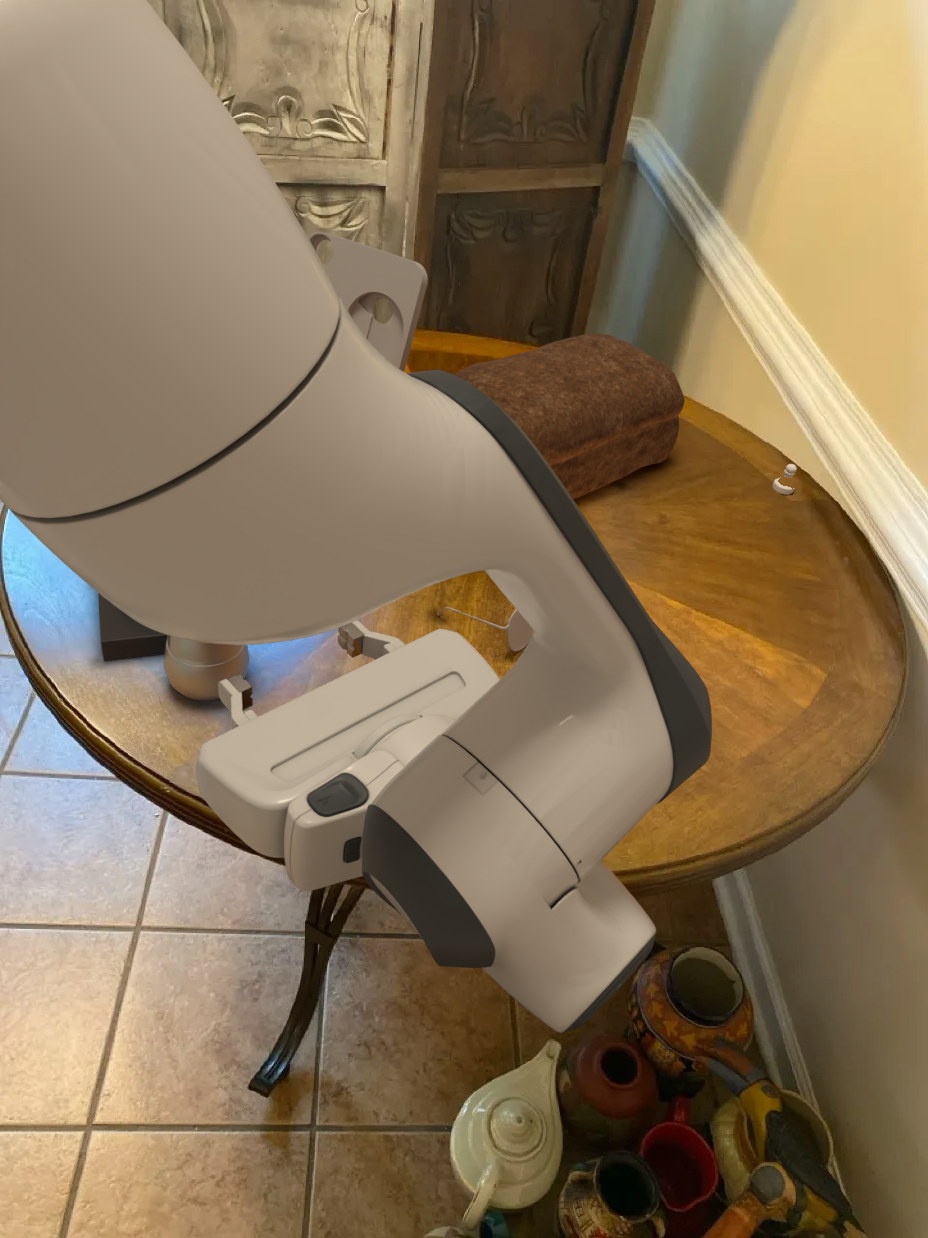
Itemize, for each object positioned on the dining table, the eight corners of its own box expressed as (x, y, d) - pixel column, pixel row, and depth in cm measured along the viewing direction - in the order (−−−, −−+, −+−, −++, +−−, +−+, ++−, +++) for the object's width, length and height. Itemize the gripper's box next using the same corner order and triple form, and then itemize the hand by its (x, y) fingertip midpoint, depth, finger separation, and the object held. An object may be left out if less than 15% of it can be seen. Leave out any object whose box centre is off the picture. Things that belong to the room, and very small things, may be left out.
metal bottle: (158, 664, 76) (135, 457, 63) (239, 648, 79) (233, 447, 66) (175, 719, 72) (154, 509, 59) (259, 700, 75) (257, 496, 62)
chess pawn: (770, 490, 112) (780, 466, 110) (773, 481, 114) (783, 457, 112) (791, 497, 112) (802, 472, 109) (793, 487, 114) (804, 463, 111)
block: (103, 661, 76) (97, 625, 73) (99, 585, 83) (94, 550, 80) (227, 647, 79) (225, 612, 76) (213, 575, 86) (211, 541, 83)
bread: (679, 462, 115) (711, 364, 106) (504, 536, 97) (526, 426, 89) (581, 402, 123) (604, 307, 115) (404, 461, 106) (416, 354, 97)
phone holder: (263, 390, 114) (262, 243, 102) (311, 363, 121) (314, 223, 110) (382, 437, 109) (395, 289, 98) (424, 406, 116) (440, 264, 105)
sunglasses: (504, 663, 82) (506, 618, 79) (432, 629, 86) (431, 585, 84) (586, 597, 91) (590, 554, 88) (517, 569, 95) (519, 527, 93)
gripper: (548, 682, 59) (412, 569, 66) (276, 840, 47) (146, 683, 54) (530, 746, 63) (404, 634, 70) (276, 907, 51) (155, 753, 58)
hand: (289, 656), depth 62 cm, fingers open, 8 cm apart
